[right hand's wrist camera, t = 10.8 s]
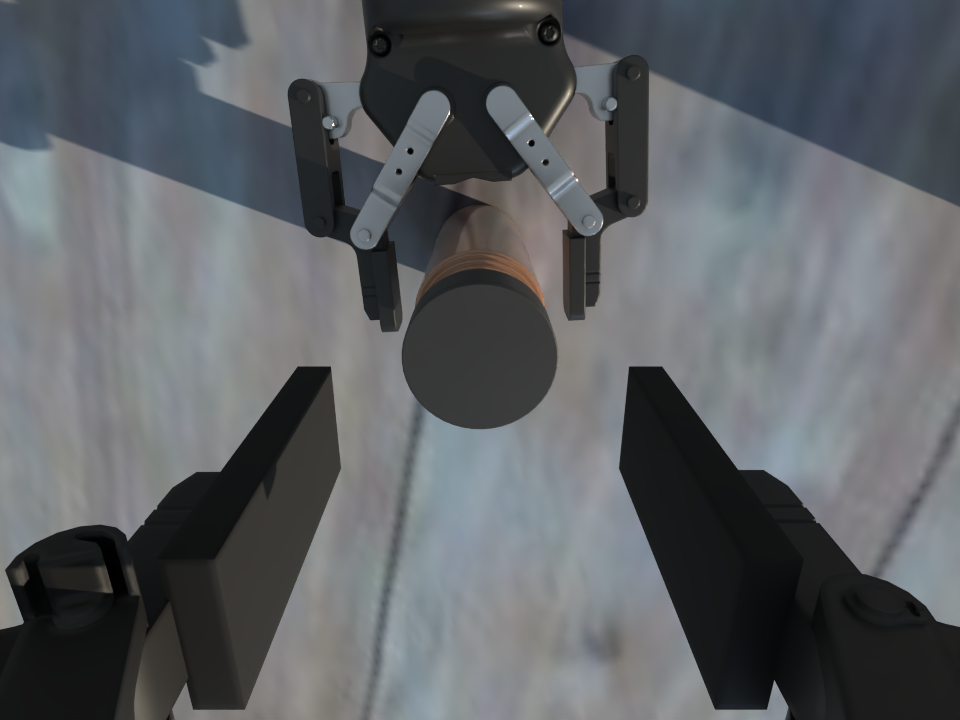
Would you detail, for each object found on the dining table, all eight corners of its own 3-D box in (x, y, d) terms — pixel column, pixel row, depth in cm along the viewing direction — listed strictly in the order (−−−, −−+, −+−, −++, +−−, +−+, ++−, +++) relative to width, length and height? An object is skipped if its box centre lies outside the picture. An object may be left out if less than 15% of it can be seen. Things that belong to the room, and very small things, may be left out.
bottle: (451, 300, 34) (430, 441, 19) (425, 219, 33) (378, 304, 18) (532, 276, 34) (575, 403, 19) (509, 193, 32) (536, 258, 17)
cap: (434, 417, 21) (430, 445, 19) (388, 292, 19) (379, 309, 17) (565, 381, 20) (574, 407, 18) (530, 249, 18) (535, 263, 17)
